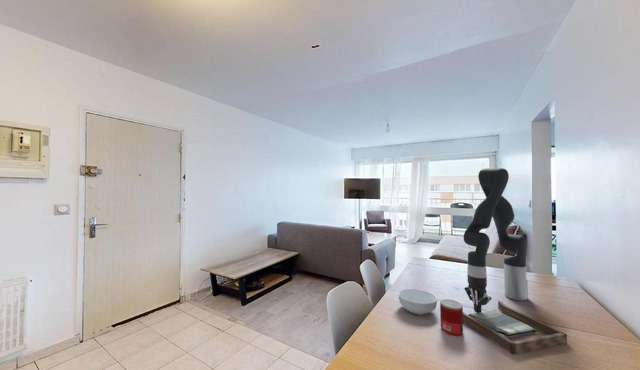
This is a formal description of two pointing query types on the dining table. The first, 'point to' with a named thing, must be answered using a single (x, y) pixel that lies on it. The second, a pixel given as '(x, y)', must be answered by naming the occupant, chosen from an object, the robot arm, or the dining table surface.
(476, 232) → the robot arm
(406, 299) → the cereal bowl
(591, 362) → the dining table surface
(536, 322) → the towel holder
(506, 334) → the dish towel
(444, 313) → the canned food
